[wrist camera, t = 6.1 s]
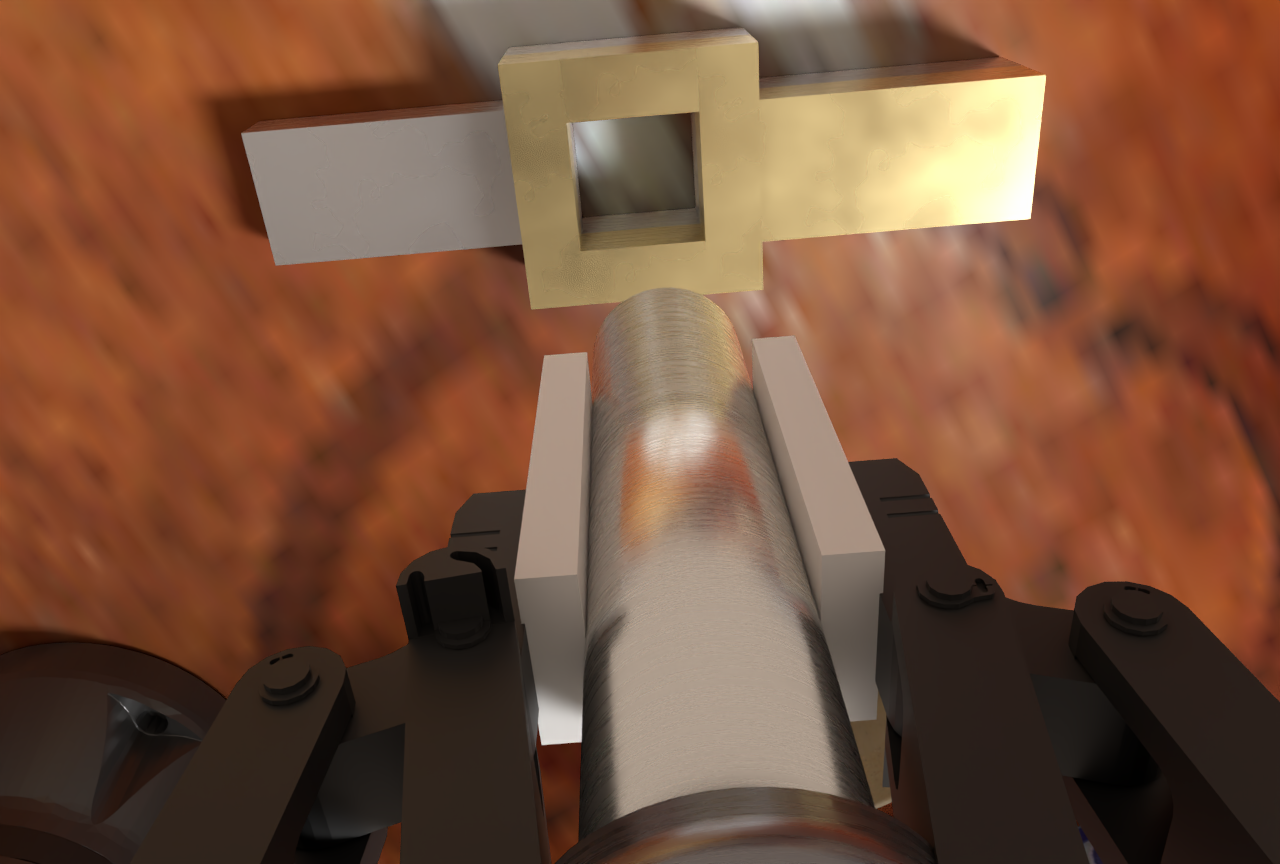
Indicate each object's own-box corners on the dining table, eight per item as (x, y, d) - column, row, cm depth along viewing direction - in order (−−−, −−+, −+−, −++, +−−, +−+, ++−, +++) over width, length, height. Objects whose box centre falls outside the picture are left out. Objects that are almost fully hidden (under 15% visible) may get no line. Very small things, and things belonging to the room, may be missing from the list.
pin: (579, 449, 21) (541, 1200, 9) (558, 271, 20) (474, 916, 7) (765, 434, 21) (979, 1167, 9) (762, 255, 20) (1027, 876, 7)
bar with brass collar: (302, 291, 38) (271, 331, 34) (246, 70, 34) (205, 90, 31) (985, 232, 38) (1024, 266, 34) (1005, 4, 34) (1052, 16, 30)
